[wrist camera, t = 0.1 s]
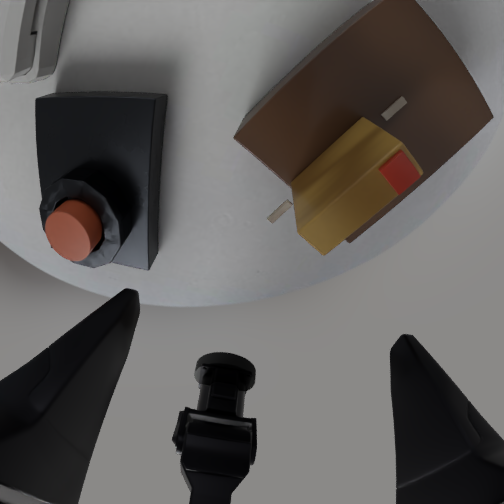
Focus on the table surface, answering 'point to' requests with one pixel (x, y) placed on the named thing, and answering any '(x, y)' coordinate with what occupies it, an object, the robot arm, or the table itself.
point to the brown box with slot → (369, 97)
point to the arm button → (73, 229)
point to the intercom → (30, 38)
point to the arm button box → (105, 167)
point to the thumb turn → (350, 184)
